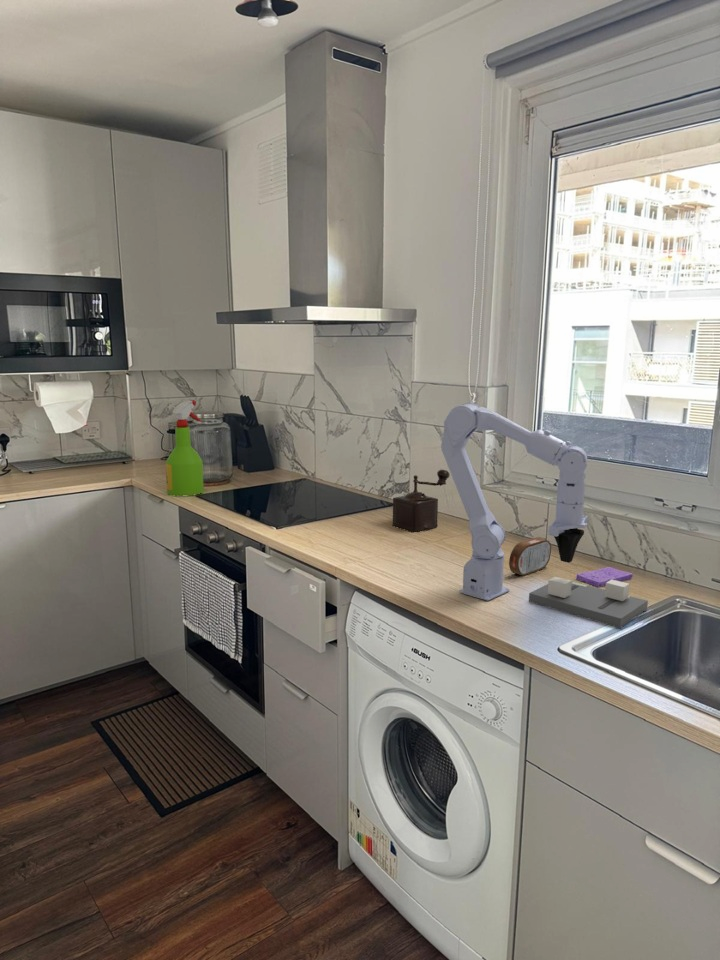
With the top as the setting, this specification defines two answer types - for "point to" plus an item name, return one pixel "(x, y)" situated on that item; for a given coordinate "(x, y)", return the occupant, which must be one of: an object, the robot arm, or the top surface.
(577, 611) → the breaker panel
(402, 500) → the manual coffee grinder
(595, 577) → the sponges
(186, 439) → the spray bottle
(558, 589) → the off-white cube
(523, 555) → the tin
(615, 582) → the block
